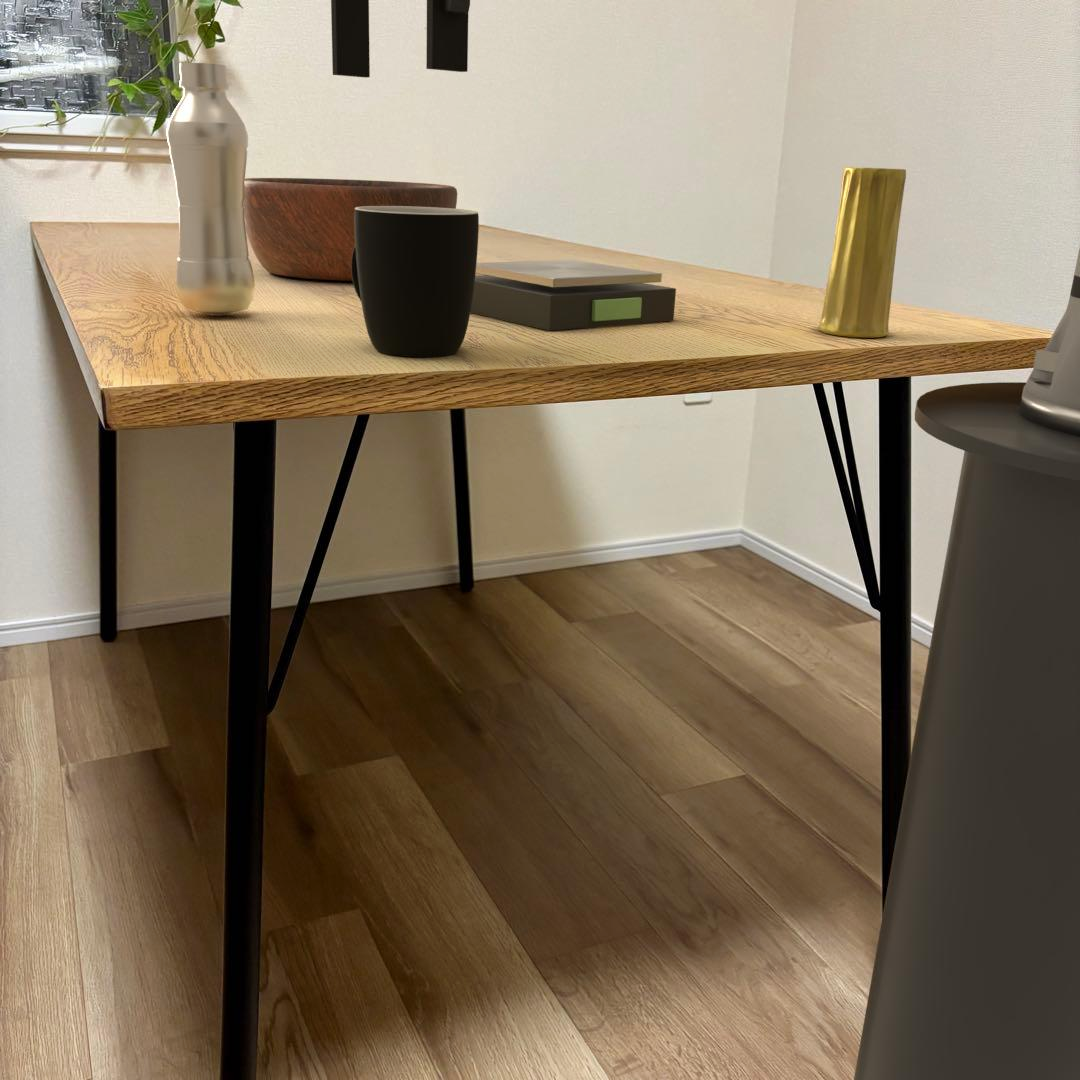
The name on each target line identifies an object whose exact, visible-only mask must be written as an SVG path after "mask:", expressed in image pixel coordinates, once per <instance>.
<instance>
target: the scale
mask: <svg viewBox="0 0 1080 1080" xmlns="http://www.w3.org/2000/svg"><path fill="white" fill-rule="evenodd" d="M676 294H677V288H675V287H669V286H663V285H656V284H652V283H651V284H650V283H633V284H614V285H595V286H576V287H557V288H552V287H547V286H542V285H536V284H531V283H525V282H520V281H515V280H509V279H504V278H498V277H493V276H487V275H482V274H478V275H475V283H474V291H473V298H472V305H471V311H470V314H471V313H472V314H475V315H479V316H483V317H488V318H493V319H496V320H501V321H504V322H505V321H506V322H510V323H513V324H518V325H522V326H527V327H530V328H531V327H532V328H535V329H540V330H545V331H549V332H553V331H555V332H556V331H564V330H565V331H566V330H568V331H569V330H578V329H580V330H581V329H590V328H602V327H615V326H625V325H627V326H628V325H640V324H650V323H653V324H654V323H662V322H663V323H664V322H674V320H675V307H676V296H677V295H676Z"/></svg>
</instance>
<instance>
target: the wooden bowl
mask: <svg viewBox="0 0 1080 1080" xmlns="http://www.w3.org/2000/svg"><path fill="white" fill-rule="evenodd" d="M457 203H458V190H457V188H456V187H455V186H453V185H447V184H438V183H428V182H427V183H425V182H411V181H391V180H371V179H370V180H367V179H346V178H345V179H343V178H312V177H311V178H307V177H306V178H305V177H248V178H246V177H245V182H244V201H243V207H244V221H245V229H246V237H247V241H248V242H249V244H250V248H251V250H252V251H253V254H254V255H255V257H256V259H257V260H258V262H259V264H260V265H261V267H262V268H263V269H264V270H265V271H267V272H268V273H270V274H273V275H277V276H284V277H291V278H299V279H309V280H310V279H311V280H326V281H328V280H329V281H348V282H349V281H352V282H353V280H352V273H351V260H352V253H353V249H354V247H355V231H354V211H355V208H356V207H363V206H412V207H436V208H452V209H457Z"/></svg>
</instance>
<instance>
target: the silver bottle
mask: <svg viewBox="0 0 1080 1080" xmlns="http://www.w3.org/2000/svg"><path fill="white" fill-rule="evenodd" d="M179 77H180V78H179V79H180V80H179V88H183V96H182V97H181V100H180V101H179V102H178V104H177V106H176V107H175V108H174V110H173V112H172V114H171V117H170V118H169V120H168V123H167V128H166V139H167V144H168V146H169V148H168V150H169V155H170V161H171V164H172V165H171V166H172V171H173V176H174V180H175V189H176V190H175V191H176V198H177V199H178V204H177V209H178V221H179V222H178V255H179V256H178V257H177V261H176V268H175V280H174V281H175V288H176V293H177V297H178V300H179V302H180V303H181V305H182V306H183V307H184V309H186V310H189V311H192V312H196V313H202V314H205V315H209V316H216V317H217V316H226V315H231V314H233V313H238V312H242V311H245V310H248V309H249V308H250V306H251V304H252V303H253V301H254V294H255V286H256V283H255V278H254V271H253V267H252V263H251V259H249V256H250V255H249V247H248V237H247V233H246V229H245V221H244V207H243V201H244V182H245V179H246V171H247V170H246V168H247V158H248V147H249V134H248V131H247V128H246V125H245V123H244V121H243V119H242V118H241V116H240V115H239V113H238V111H237V110H236V108H235V107H234V106H233V105H232V103H231V102H230V101H229V100H228V98H227V93H226V91H229V90H230V84H229V83H228V68H227V66H226V65H225V64H220V63H219V64H218V63H207V62H180V63H179Z"/></svg>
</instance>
